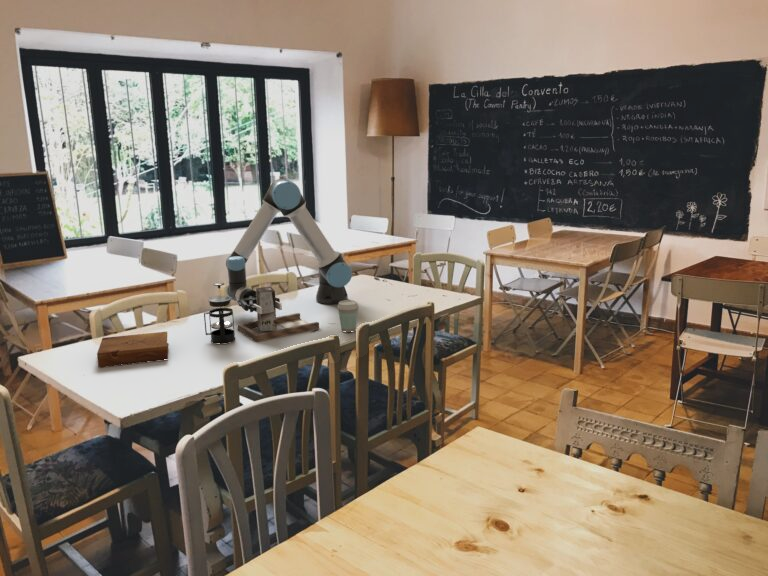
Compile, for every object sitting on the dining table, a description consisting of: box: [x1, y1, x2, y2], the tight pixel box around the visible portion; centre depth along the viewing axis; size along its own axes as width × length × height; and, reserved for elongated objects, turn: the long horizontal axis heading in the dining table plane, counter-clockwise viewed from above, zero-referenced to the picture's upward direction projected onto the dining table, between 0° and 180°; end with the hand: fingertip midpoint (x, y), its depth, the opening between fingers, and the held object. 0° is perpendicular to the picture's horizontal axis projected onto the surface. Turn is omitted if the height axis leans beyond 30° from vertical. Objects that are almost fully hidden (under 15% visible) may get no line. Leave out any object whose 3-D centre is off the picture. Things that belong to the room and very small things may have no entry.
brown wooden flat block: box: [96, 331, 169, 368], centre depth 233 cm, size 23×19×6 cm
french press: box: [203, 282, 236, 345], centre depth 246 cm, size 12×9×23 cm
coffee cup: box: [336, 299, 359, 332], centre depth 257 cm, size 9×8×12 cm
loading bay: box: [237, 312, 320, 342], centre depth 261 cm, size 28×18×2 cm, turn 125°
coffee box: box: [255, 286, 277, 332], centre depth 256 cm, size 9×6×16 cm
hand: (271, 308), depth 252 cm, fingers closed on coffee box, 8 cm apart
